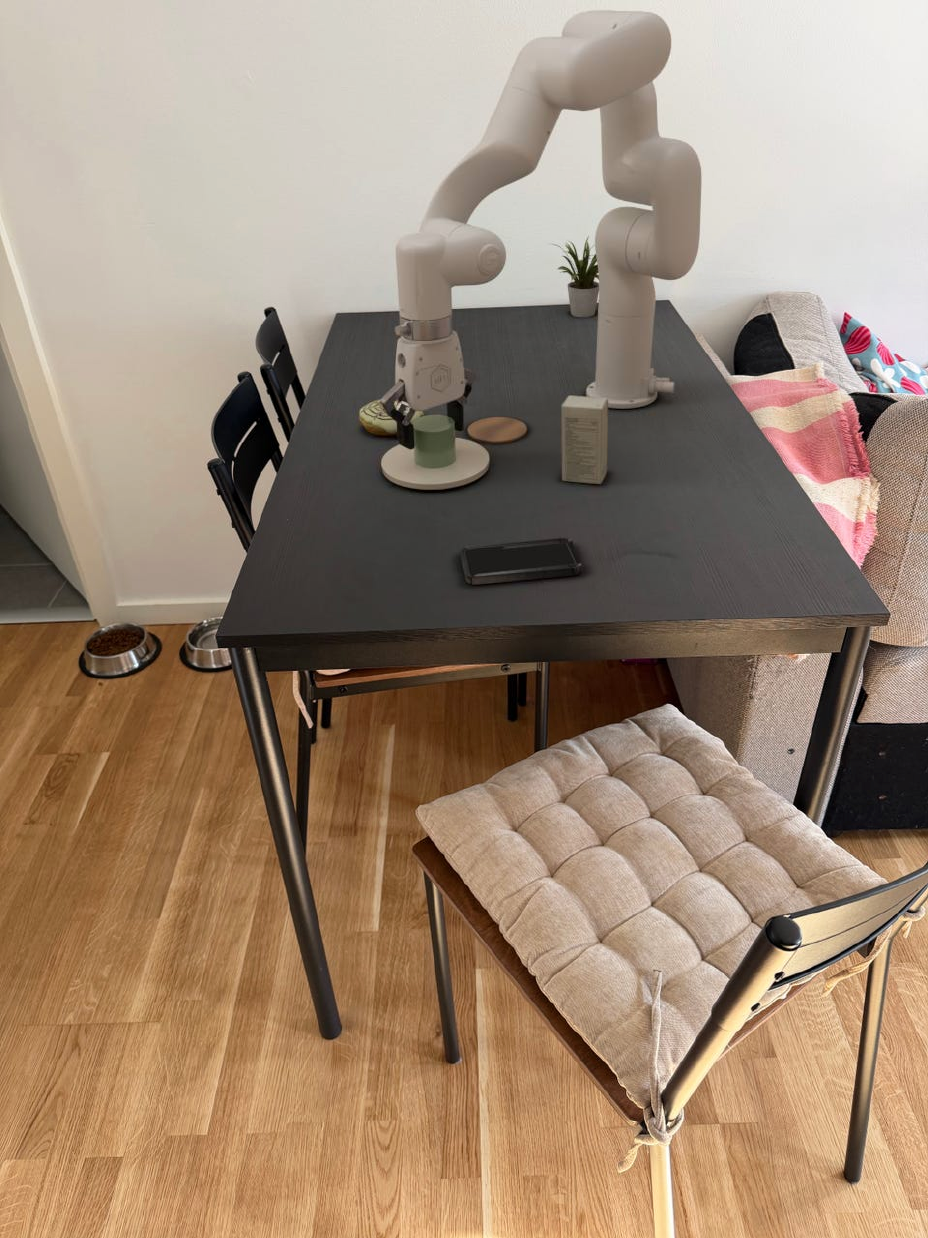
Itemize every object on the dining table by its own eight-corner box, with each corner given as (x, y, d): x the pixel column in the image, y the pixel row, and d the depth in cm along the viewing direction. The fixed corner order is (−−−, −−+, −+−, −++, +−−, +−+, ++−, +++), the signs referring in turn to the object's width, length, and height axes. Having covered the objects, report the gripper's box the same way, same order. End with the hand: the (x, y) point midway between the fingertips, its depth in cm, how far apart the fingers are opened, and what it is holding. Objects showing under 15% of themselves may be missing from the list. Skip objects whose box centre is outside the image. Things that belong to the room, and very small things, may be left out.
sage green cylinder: (462, 452, 150) (460, 416, 146) (447, 470, 145) (445, 433, 141) (423, 447, 152) (421, 412, 148) (407, 465, 147) (404, 429, 143)
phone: (583, 567, 121) (466, 577, 120) (582, 574, 122) (466, 585, 121) (570, 536, 128) (459, 546, 127) (570, 543, 128) (460, 553, 127)
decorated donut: (397, 445, 157) (395, 423, 155) (348, 431, 162) (346, 410, 160) (435, 422, 164) (433, 401, 162) (386, 410, 169) (384, 390, 167)
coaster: (533, 422, 162) (533, 420, 162) (516, 446, 155) (517, 444, 154) (478, 416, 165) (478, 414, 165) (459, 439, 158) (459, 437, 157)
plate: (503, 451, 153) (503, 442, 152) (469, 499, 140) (468, 489, 139) (406, 440, 158) (405, 431, 157) (364, 485, 145) (363, 476, 144)
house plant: (541, 323, 205) (542, 244, 196) (547, 304, 216) (548, 228, 207) (608, 324, 203) (612, 245, 193) (610, 304, 214) (614, 228, 205)
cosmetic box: (607, 473, 145) (611, 397, 138) (601, 485, 142) (604, 408, 135) (566, 468, 147) (568, 393, 140) (559, 480, 144) (560, 404, 137)
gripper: (394, 346, 129) (401, 461, 139) (488, 318, 138) (489, 428, 148) (362, 333, 134) (371, 446, 144) (455, 308, 143) (458, 415, 153)
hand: (431, 437), depth 146 cm, fingers open, 9 cm apart
